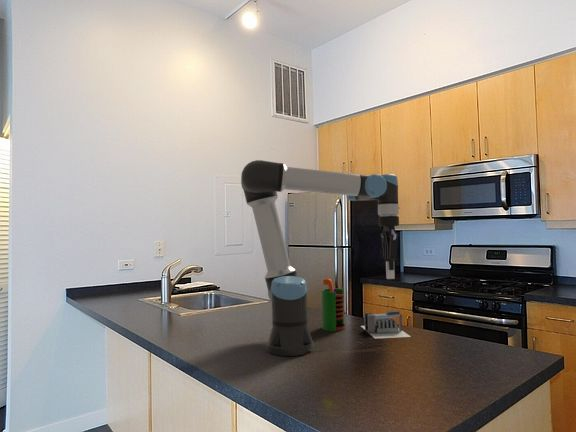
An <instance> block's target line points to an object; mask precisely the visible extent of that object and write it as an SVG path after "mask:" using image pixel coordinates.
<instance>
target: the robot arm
mask: <svg viewBox="0 0 576 432" xmlns="http://www.w3.org/2000/svg"><path fill="white" fill-rule="evenodd" d="M240 177H241V178H240V179H241V181H240V184H241V187H242V190H243V193H244V197H245V202H246V205H247V206H249V207H251V208H252V212H253V217H254V220H255V224H256V228H257V233H258V234H257V235H258V236H259V240H260V246H261V249H262V253H263V257H264V263H265V266H266V270H267V272H266V274H265V275H264V279H265V280H264V281H265V284H266V288H267V294H268V298H269V300H270V302H271V324H272V325H271V329H270V334H269V337H268V341H267V352H269V353H270V354H272V355H275V356H281V357H282V356H283V357H293V356H295V357H296V356H303V355H306V354H310V353H312V349H313V348H314V341H313V338H312V336H311V332H310V329H309V326H308V303H307V302H308V300H307V299H308V298H307V292H308V287H307V281H306V280H305V279H304V278H303V277H299V276H298V275H297V270H296V268H294V267H293V266H292V265H291V263H290V258H289V255H288V254H289V253H288V250H287V246H286V243H285V237H284V233H283V229H282V225H281V222H280V217H279V214H278V209H277V205H276V201H277V200H278V197H279V195H278V193H281V192H282V193H283V191H285V190H286V191H287V190H288V191H298V192H310V193H320V194H321V193H322V194H331V195H341V196H346V199H347V200H348V201H355V202H357V201H358V202H359V201H377V215H378V216H379V217H378V227H382V233H381V234H380V238H381V247H382V255H383V256H382V257H383V259H384V260H385V274H386V275H385V276H386V277H385V278H386V279H387V280H395V278H396V277H395V276H396V275H395V273H396V272H395V261H396V260H397V259H398V258H397V255H398V239H399V234H398V233H397V231H396V228H395V227H399V225H400V217H399V216H398V215H399V213H400V212H399V210H400V209H401V208H400V206H399V185H398V184H399V180H398V176H397V175H395V174H392V173H391V174H390V173H388V174H377V173H376V174H370V175H368V174H358V173H349V172H339V171H328V170H322V169H321V170H320V169H312V168H300V167H291V166H286V164H285V163H281V162H274V161H268V160H261V159H258V160H257V159H256V160H253V161H250V162H248V163H247V164H246V165H245V166H244V168H242V172H241V176H240Z"/></svg>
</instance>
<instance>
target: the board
mask: <svg viewBox="0 0 576 432" xmlns="http://www.w3.org/2000/svg"><path fill="white" fill-rule="evenodd" d="M360 327H361V328H362V329H363V330H364V331H365V325H360ZM366 333H368V331H366ZM369 335H370V336H371V337H372V338H374V339H392V338H393V339H394V338H395V339H396V338H412V337H411V335H409V334H408V333H406V332H405V331H404V330H402V331H400V330H399V333H392V334H376V333H371V334H369Z"/></svg>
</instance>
